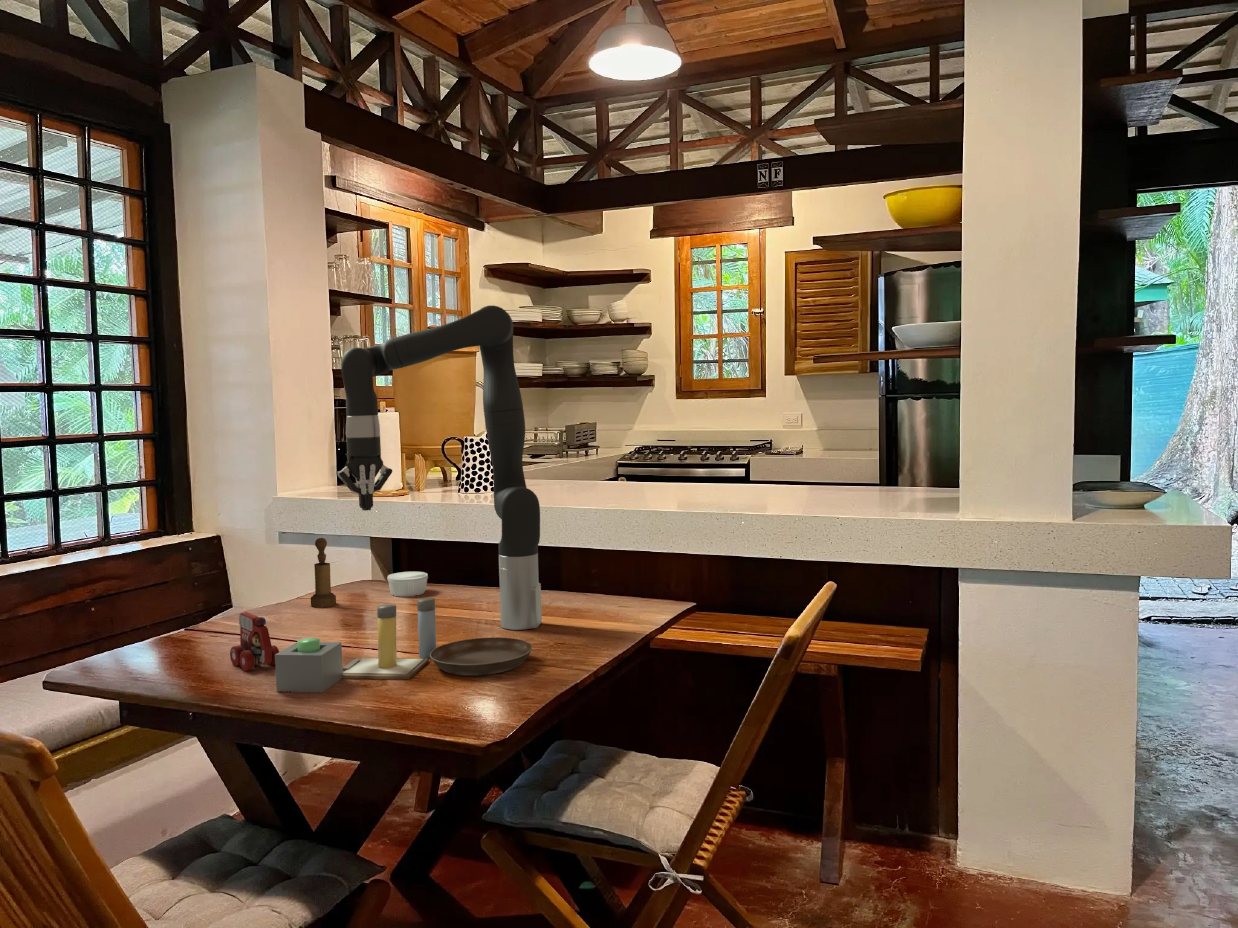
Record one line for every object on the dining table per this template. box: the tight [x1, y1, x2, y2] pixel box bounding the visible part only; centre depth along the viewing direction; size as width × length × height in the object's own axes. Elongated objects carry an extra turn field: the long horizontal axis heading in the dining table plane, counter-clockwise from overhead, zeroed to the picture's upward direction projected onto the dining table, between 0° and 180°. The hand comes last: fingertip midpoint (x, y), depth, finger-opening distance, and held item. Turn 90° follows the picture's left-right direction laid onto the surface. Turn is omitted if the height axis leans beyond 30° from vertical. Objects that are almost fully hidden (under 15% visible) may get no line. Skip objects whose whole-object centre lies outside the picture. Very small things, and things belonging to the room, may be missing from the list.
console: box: [274, 641, 344, 693], centre depth 173 cm, size 9×9×7 cm
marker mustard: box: [376, 603, 398, 668], centre depth 181 cm, size 4×4×12 cm
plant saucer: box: [430, 636, 533, 677], centre depth 184 cm, size 21×21×3 cm
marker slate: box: [416, 597, 437, 659], centre depth 190 cm, size 4×4×12 cm
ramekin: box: [386, 571, 429, 598], centre depth 254 cm, size 11×11×5 cm
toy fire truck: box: [229, 611, 280, 672], centre depth 186 cm, size 7×12×10 cm, turn 44°
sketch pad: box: [342, 657, 430, 680], centre depth 182 cm, size 15×12×1 cm
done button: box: [297, 637, 321, 652], centre depth 172 cm, size 4×4×4 cm
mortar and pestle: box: [310, 537, 337, 608], centre depth 241 cm, size 7×6×18 cm
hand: (366, 510), depth 210 cm, fingers closed
